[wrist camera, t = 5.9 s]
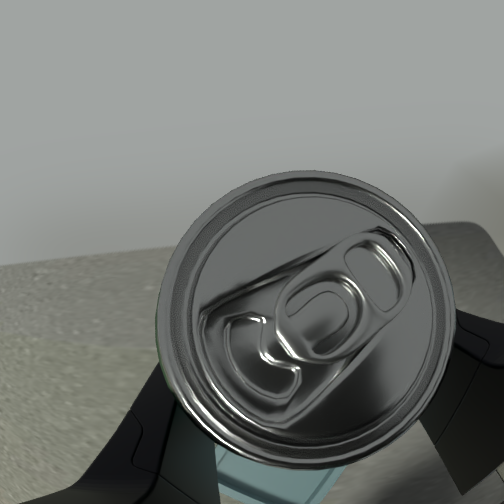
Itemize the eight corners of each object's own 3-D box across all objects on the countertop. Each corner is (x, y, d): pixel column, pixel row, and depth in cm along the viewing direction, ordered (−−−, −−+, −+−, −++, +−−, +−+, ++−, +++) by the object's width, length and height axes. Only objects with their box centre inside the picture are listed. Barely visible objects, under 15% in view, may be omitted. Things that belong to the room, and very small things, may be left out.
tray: (299, 514, 17) (302, 524, 15) (198, 471, 18) (194, 479, 17) (360, 427, 19) (367, 432, 18) (257, 379, 21) (257, 381, 19)
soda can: (204, 329, 15) (75, 264, 4) (284, 275, 16) (338, 108, 5) (260, 408, 14) (269, 547, 3) (339, 352, 15) (513, 333, 3)
